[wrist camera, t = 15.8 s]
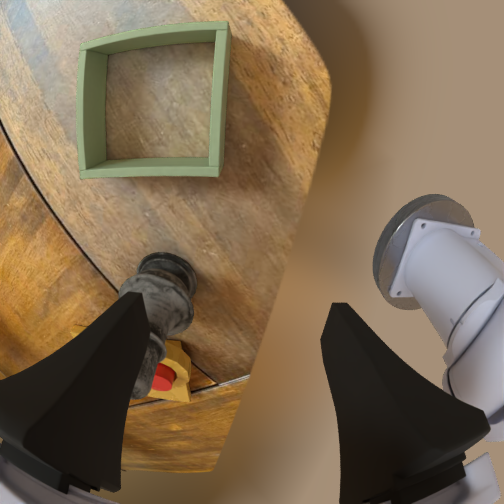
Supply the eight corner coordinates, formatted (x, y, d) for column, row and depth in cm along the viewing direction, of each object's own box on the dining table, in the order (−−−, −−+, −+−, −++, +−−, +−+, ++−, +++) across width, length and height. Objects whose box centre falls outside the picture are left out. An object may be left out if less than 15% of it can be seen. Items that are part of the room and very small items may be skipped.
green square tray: (231, 34, 13) (228, 20, 10) (223, 166, 17) (218, 177, 15) (102, 49, 12) (80, 43, 10) (101, 168, 17) (79, 179, 14)
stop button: (172, 362, 23) (169, 377, 22) (177, 379, 25) (174, 393, 23) (143, 358, 23) (139, 372, 22) (149, 375, 25) (145, 389, 23)
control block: (190, 334, 25) (185, 358, 22) (199, 395, 31) (196, 415, 28) (71, 317, 24) (59, 336, 22) (102, 379, 30) (96, 396, 28)
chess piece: (204, 255, 21) (169, 395, 10) (198, 312, 23) (174, 437, 13) (132, 243, 20) (56, 361, 10) (135, 299, 23) (87, 413, 12)
